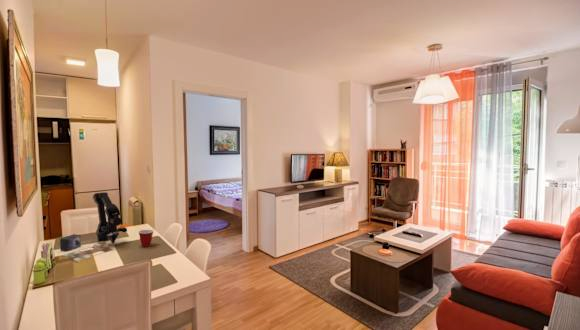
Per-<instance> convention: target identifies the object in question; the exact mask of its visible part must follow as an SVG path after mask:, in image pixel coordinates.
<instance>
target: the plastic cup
mask: <svg viewBox="0 0 580 330" xmlns="http://www.w3.org/2000/svg"><path fill="white" fill-rule="evenodd" d="M154 232H155V230H154V229H141V230H138V235H139V240H140V243H141V247H142V248H149V247H151V245H152V240H153V234H154Z"/></svg>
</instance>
